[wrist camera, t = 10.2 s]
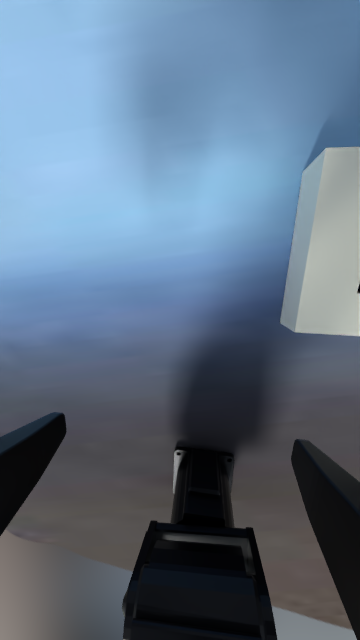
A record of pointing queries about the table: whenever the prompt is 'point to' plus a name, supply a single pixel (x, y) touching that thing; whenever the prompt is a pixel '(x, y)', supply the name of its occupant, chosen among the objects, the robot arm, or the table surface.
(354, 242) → the hub block
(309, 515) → the robot arm
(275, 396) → the table surface
